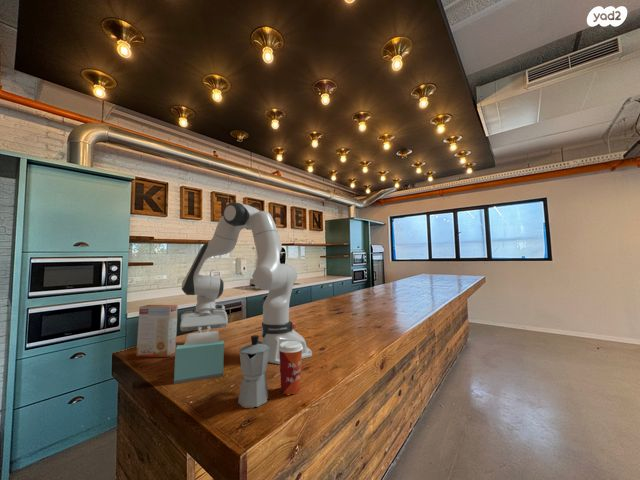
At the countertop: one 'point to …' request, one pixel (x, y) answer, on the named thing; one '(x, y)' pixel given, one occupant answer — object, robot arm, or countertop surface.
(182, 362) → the rectangular block
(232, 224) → the robot arm
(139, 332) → the cracker box
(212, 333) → the stone slab
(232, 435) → the countertop surface
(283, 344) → the paper cup
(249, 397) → the coffee maker
